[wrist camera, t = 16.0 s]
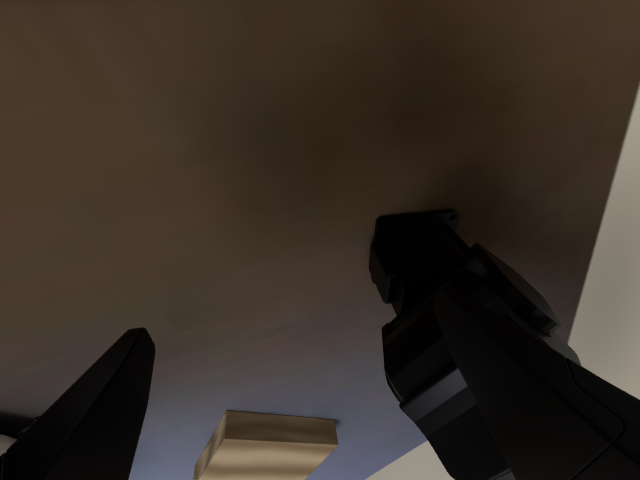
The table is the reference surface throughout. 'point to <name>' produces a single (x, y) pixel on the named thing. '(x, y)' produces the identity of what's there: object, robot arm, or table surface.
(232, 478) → the oak stand
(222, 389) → the table surface
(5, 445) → the coffee press
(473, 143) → the table surface
